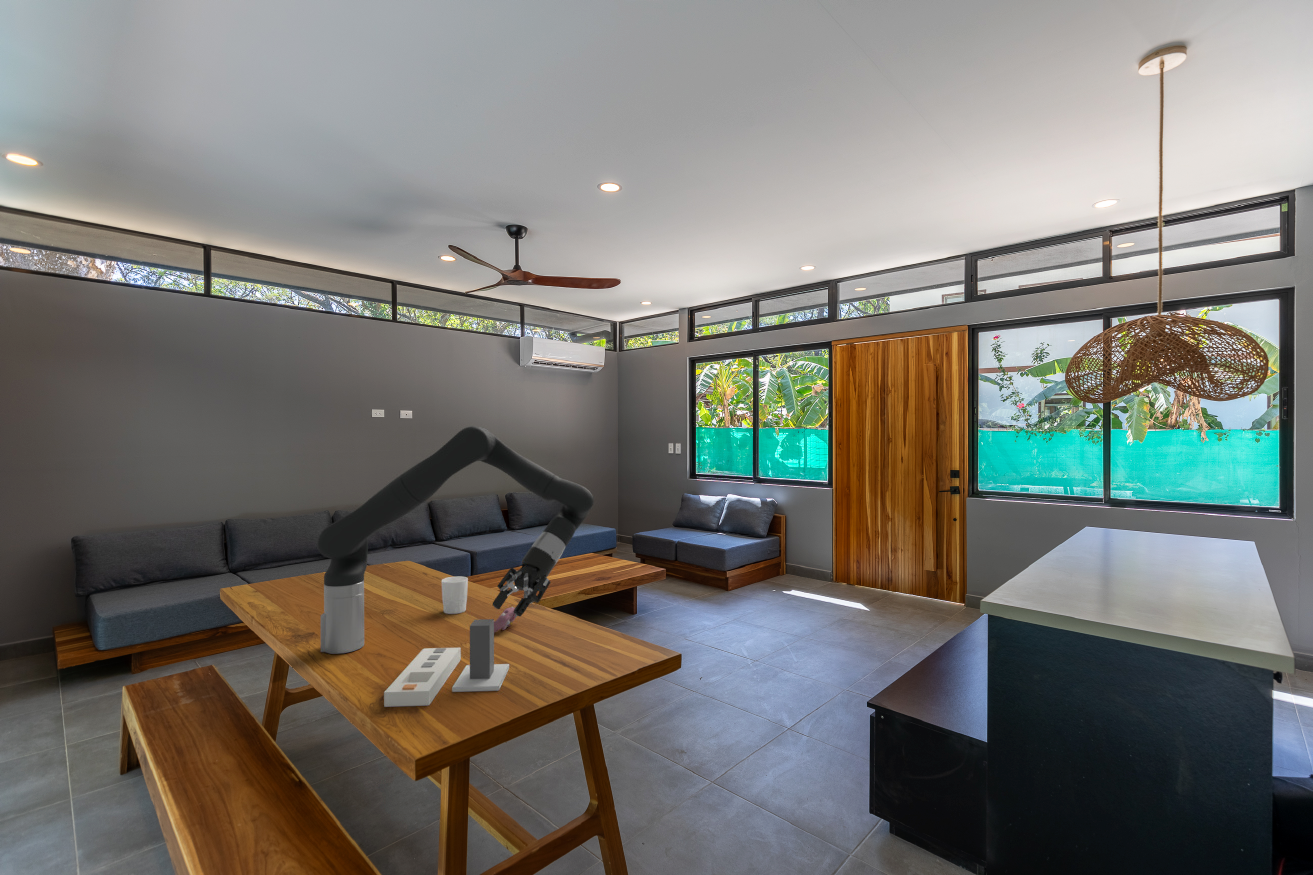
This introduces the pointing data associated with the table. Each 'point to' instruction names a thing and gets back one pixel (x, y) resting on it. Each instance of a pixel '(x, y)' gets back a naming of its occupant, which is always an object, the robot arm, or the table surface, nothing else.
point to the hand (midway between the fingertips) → (505, 610)
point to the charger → (481, 649)
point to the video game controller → (505, 619)
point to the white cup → (454, 594)
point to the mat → (481, 680)
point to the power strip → (422, 677)
